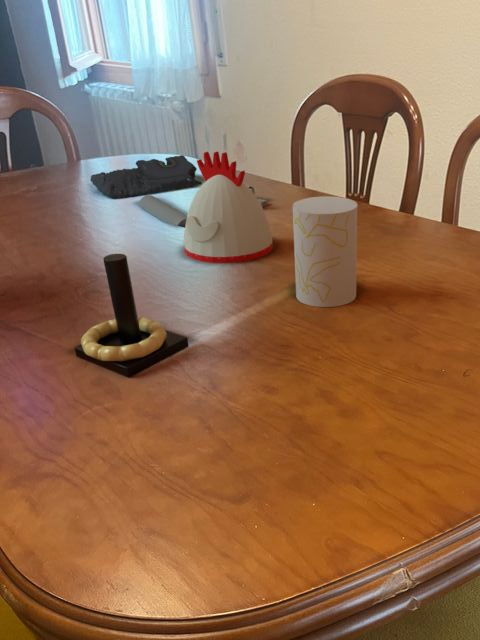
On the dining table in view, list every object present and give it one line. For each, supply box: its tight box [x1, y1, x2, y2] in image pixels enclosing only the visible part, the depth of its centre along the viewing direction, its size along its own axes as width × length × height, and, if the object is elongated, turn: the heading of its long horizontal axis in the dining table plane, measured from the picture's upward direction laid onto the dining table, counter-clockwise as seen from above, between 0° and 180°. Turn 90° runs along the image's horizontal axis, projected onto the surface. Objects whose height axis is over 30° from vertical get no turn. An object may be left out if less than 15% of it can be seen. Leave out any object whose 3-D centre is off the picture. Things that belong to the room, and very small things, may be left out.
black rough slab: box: [90, 154, 202, 199], centre depth 141 cm, size 15×22×5 cm
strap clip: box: [246, 185, 268, 208], centre depth 124 cm, size 8×3×4 cm, turn 149°
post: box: [73, 253, 189, 378], centre depth 73 cm, size 9×9×11 cm
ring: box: [80, 316, 167, 361], centre depth 74 cm, size 9×9×2 cm
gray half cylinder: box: [138, 194, 188, 228], centre depth 122 cm, size 4×20×2 cm, turn 33°
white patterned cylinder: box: [292, 195, 358, 308], centre depth 86 cm, size 8×8×12 cm
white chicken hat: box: [183, 151, 274, 264], centre depth 100 cm, size 14×14×15 cm
